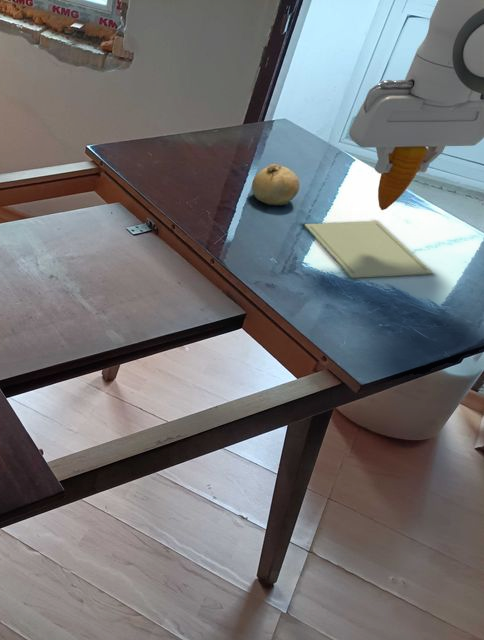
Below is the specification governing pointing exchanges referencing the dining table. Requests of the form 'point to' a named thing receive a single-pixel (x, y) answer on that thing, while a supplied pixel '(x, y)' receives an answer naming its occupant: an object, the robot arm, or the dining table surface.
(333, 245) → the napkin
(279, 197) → the onion
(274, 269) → the dining table surface
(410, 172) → the carrot
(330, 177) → the dining table surface
